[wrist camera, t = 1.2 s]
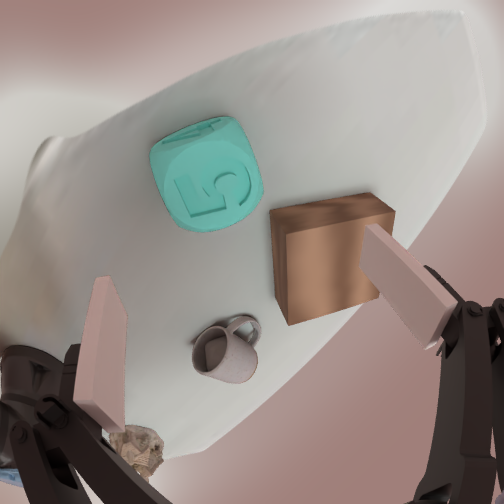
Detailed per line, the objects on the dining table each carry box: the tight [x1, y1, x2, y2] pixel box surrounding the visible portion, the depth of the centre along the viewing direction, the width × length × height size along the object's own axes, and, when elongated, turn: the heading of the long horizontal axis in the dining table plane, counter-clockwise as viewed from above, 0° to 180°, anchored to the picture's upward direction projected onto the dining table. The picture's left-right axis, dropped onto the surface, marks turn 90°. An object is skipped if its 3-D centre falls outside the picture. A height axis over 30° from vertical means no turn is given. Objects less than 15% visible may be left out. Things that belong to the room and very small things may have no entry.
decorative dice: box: [149, 116, 264, 232], centre depth 26 cm, size 8×8×8 cm
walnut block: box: [270, 192, 396, 326], centre depth 38 cm, size 14×14×6 cm
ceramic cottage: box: [109, 425, 164, 483], centre depth 55 cm, size 16×16×15 cm
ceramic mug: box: [192, 316, 261, 384], centre depth 42 cm, size 10×8×7 cm
